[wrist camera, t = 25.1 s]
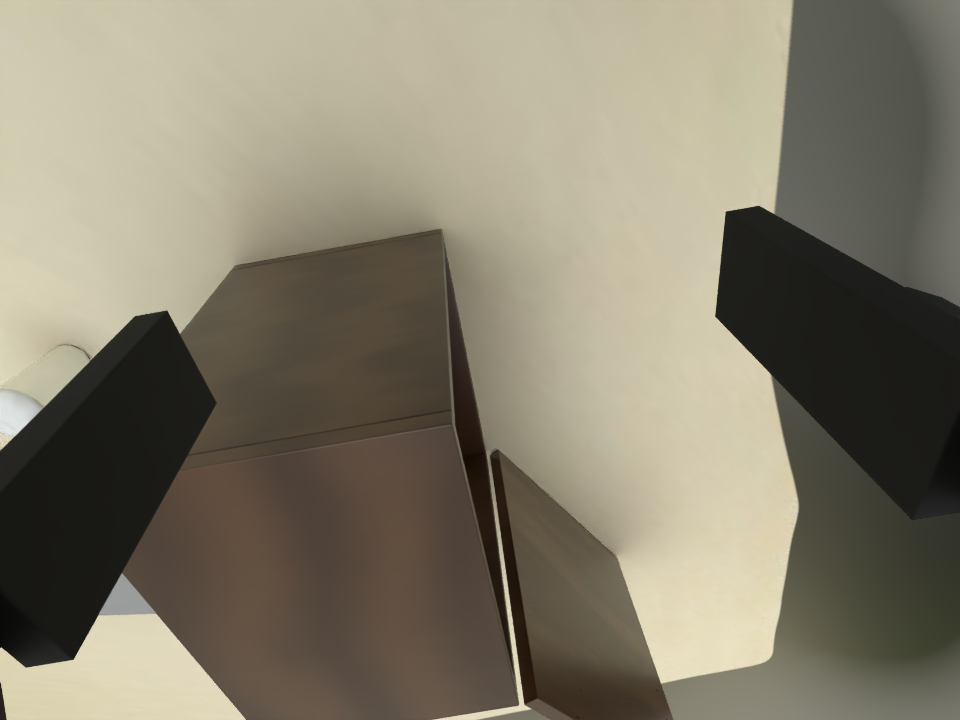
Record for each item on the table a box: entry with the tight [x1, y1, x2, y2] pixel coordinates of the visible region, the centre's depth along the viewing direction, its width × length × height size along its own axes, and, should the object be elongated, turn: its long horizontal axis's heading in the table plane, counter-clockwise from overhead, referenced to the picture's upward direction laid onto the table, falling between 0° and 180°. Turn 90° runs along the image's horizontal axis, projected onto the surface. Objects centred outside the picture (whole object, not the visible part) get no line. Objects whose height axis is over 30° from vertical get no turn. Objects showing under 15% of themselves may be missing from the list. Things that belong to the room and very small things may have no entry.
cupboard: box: [122, 229, 519, 720], centre depth 41 cm, size 18×26×26 cm
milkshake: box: [0, 345, 90, 437], centre depth 45 cm, size 5×5×10 cm
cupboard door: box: [490, 450, 673, 720], centre depth 55 cm, size 7×26×26 cm, turn 39°
